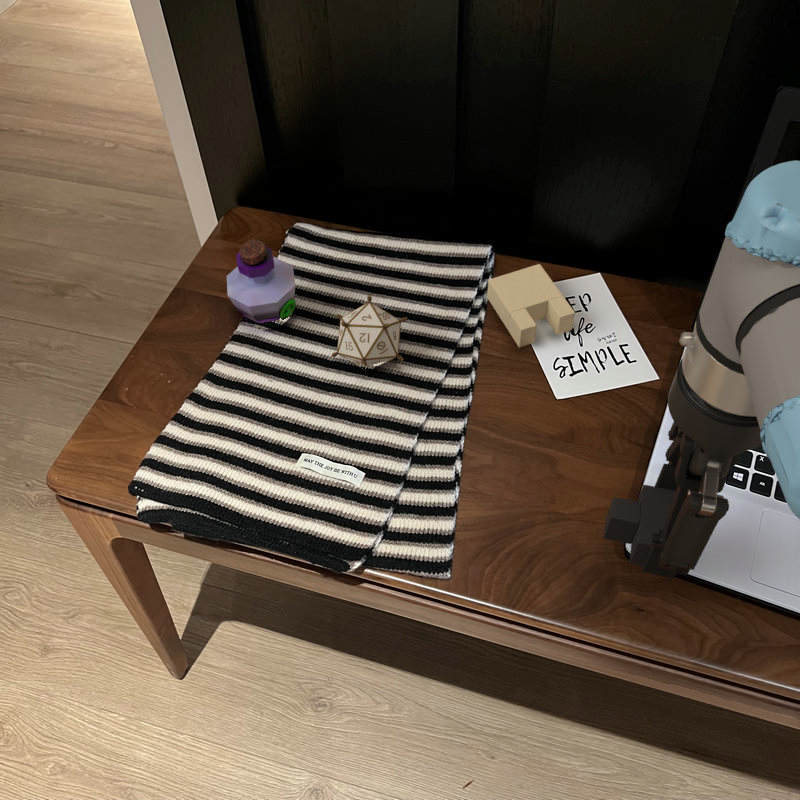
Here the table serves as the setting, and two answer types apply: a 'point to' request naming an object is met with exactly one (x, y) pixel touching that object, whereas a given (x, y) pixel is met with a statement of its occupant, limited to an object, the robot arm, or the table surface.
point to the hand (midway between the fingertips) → (660, 538)
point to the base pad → (529, 303)
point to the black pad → (639, 521)
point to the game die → (369, 335)
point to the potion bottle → (261, 284)
